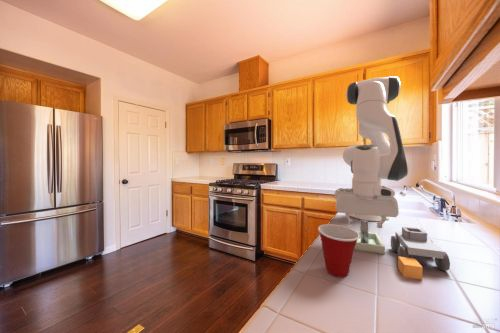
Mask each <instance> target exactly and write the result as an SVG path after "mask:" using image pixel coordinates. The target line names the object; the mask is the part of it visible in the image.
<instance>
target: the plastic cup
mask: <svg viewBox="0 0 500 333" xmlns="http://www.w3.org/2000/svg"><path fill="white" fill-rule="evenodd" d="M317 231H318V232H319V236H320V241H321V246H322V254H323V260H324V265H325V269H326V272H327V274H329V275H331V276H334V277H338V278H344V277H348V275H349V273H350V268H351V264H352V261H353V256H354V252H355V250H354V248H355V245H356V242H357V240H358V239H359V238H360V235H359V233H358V232H356V231H357V230H355V229H352V228H350V227H348V226H345V225H341V224H340V225H339V224H335V223H333V224H332V223H326V224H325V223H324V224H321V225H319V226H318V227H317Z"/></svg>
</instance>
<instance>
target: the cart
mask: <svg viewBox="0 0 500 333" xmlns="http://www.w3.org/2000/svg"><path fill="white" fill-rule="evenodd" d="M394 234H395V235H391V236H390V248H391V251H392V252H397V257H398V256H399V257H407V258H410V255H411V256H419V257H425V258H426V257H429V258H432V259H433V258H434V263H435V266H436V268H437V269H438V270H441V271H447V272H448V271H449V270H450V268H451V265H450V264H451V262H450V258H449V255H448V254H447V252H446V251H443V249H441V248H440V247H439V246H438V245H437V244H435V243H434V241H433V240H432V239H429V237H428V232H426V231H425V230H424V229H422V228H418V227H410V226H409V227H408V226H402V227H401V231H395V232H394Z"/></svg>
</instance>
